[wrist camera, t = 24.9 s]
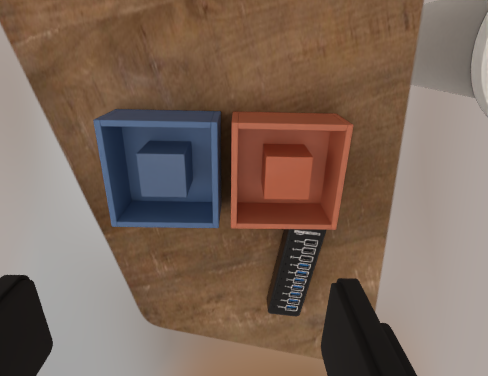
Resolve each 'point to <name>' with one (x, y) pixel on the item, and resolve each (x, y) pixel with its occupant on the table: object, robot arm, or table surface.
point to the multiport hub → (294, 270)
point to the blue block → (165, 168)
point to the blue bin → (127, 175)
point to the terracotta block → (286, 171)
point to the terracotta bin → (322, 178)
